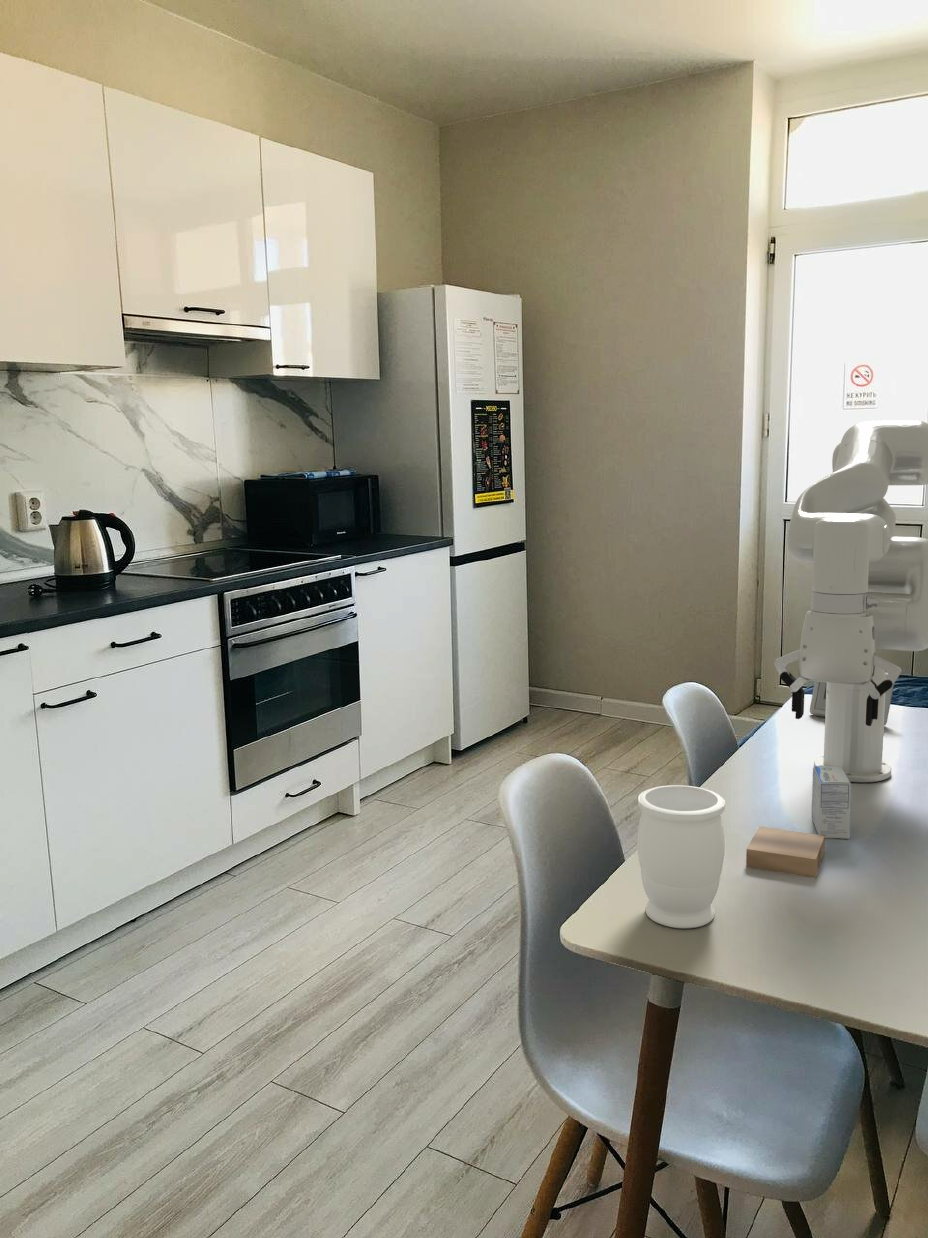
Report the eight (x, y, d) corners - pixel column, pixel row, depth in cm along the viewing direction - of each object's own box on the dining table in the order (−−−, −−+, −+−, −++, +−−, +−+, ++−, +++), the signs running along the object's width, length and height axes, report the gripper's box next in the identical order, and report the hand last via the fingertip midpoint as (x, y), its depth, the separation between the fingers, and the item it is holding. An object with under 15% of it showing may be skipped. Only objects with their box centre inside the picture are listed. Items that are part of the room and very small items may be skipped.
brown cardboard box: (758, 846, 146) (759, 826, 145) (824, 856, 142) (824, 835, 141) (746, 869, 138) (746, 849, 137) (815, 880, 134) (815, 859, 133)
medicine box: (850, 840, 146) (852, 783, 144) (817, 838, 147) (819, 781, 145) (841, 820, 154) (843, 766, 152) (810, 819, 154) (812, 764, 153)
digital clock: (804, 715, 212) (806, 665, 210) (830, 708, 217) (832, 659, 216) (874, 731, 199) (876, 679, 197) (900, 723, 204) (903, 672, 202)
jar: (706, 942, 117) (708, 819, 115) (623, 922, 123) (624, 804, 120) (734, 906, 126) (737, 792, 124) (655, 889, 132) (657, 778, 129)
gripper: (906, 603, 144) (900, 720, 146) (781, 598, 151) (777, 708, 154) (902, 611, 137) (896, 733, 140) (771, 604, 145) (768, 720, 147)
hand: (833, 720), depth 147 cm, fingers open, 9 cm apart
